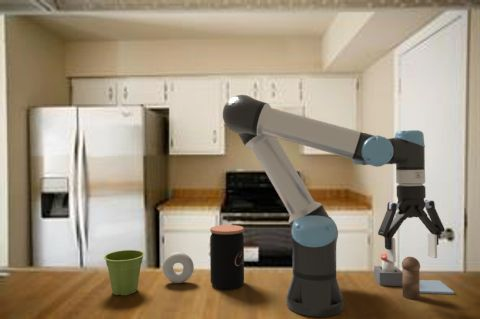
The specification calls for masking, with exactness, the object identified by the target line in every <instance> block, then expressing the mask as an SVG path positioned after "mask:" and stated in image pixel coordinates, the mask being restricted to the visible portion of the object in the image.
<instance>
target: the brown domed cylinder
mask: <svg viewBox="0 0 480 319" xmlns="http://www.w3.org/2000/svg"><path fill="white" fill-rule="evenodd" d="M401 267H402V273H403V286H402V297H403V298H405V299H408V300H414V301H415V300H419V299H420V296H421V295H420V294H421V293H420V281H419V280H420V270H421V263H420V261H419V260H418V259H417V258H416V257H414V256H406V257H405V258H403V260H402V261H401Z"/></svg>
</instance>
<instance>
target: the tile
mask: <svg viewBox="0 0 480 319" xmlns="http://www.w3.org/2000/svg"><path fill="white" fill-rule="evenodd" d="M419 281H420V294H438V295H455V291H454V290H452V289H451V288H450V287H449V286H447V285H446V284H445V283H444V282H442V281H441V280H431V279H430V280H429V279H419Z"/></svg>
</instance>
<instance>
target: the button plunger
mask: <svg viewBox="0 0 480 319" xmlns="http://www.w3.org/2000/svg"><path fill="white" fill-rule="evenodd" d="M380 259H381V266H382V271H384V272H395V267H396V265H395V264H396V262H392V261H389V260H387V253H381V254H380Z"/></svg>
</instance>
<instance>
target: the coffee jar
mask: <svg viewBox="0 0 480 319" xmlns="http://www.w3.org/2000/svg"><path fill="white" fill-rule="evenodd" d="M209 230H210V231H209V232H210V233H211V235H210V237H209V238H210V239H209V243H210V244H209V246H210V247H209V256H210V257H209V258H210V260H209V261H210V269H209V270H210V271H209V272H210V283H211V286H212V287H213V286H214V287H213V288H215V287H216V288H215V289H217V288H218V290H221V289H222V291H231V289H232V290H236V288H237V289H238V288H239V289H240V288H241V287H242V286H243V284H244V282H245V238H244V237H245V236H244V234H243V232H244V226H241V225H235V224H223V225H222V224H220V225H214V226H212V227H209Z"/></svg>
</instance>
